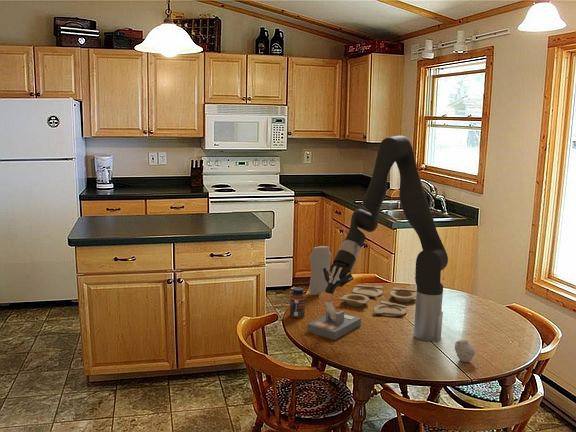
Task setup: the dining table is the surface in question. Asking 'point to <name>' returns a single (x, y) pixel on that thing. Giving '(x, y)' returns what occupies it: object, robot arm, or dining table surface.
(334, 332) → the switch block
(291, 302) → the supplement bottle
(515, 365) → the dining table surface
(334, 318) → the breaker lever
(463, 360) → the frog figurine
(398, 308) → the tableware set
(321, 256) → the tall pale column
